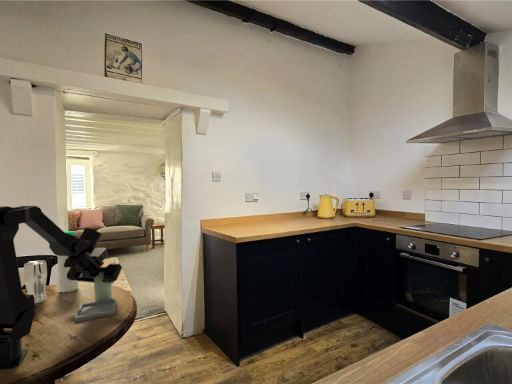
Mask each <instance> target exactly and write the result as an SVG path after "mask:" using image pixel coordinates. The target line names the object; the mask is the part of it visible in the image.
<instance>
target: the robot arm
mask: <svg viewBox="0 0 512 384" xmlns="http://www.w3.org/2000/svg"><path fill="white" fill-rule="evenodd" d="M20 224H25V225H26V226H27V227H28V228H30V229H32V231H33V232H35V233H36V234H37V235H38V236H40V237H41V238H42V239H44V240H45V241H46V242H47V243H48V245H49V246H48V247H49V249H50V251H51V252H52V253H53V254H54V255H55V256H57V257H58V256H68V257H67V259H66V260H65V263H64V267H71V268H70V269H69V271H68V273H67V278H68V279H69V280H77V281H78V282H85V283H93V284H94V278H96V276H99V274H103V281H102V282H107V283H111V284H114V283H115V282H116V281H117V279H119V276H120V273H121V271H122V269H123V267H122V265H121V264H120V263H113V262H111V263H109V264H108V265H107V266H104V264H105V262H104V260H105V259H106V258H107V257H108V256H109V253H108V250H107V248H106V247H97V245H98V243H99V241H100V240H101V239H102V238H101V237H102V236H103V235H102V234H101V232H99V231H97V230H95V229H92V228H91V227H85V228H84V229H83V230H82V233H81V235H80V236H79V237H77V236H75V234H74V235H70V234H67V233H65V231H64V230H62V229H61V228H60V227H59V226H58V225H57V224H56V223H55V222H54V221H53V220H51V219H50V218H49V217H48V216H47V215H46V214H45V212H43V211H42V209H41V208H40V207H39V206H37V205H21V206H15V207H11V206H8V205H7V206H5V205H4V206H3V205H1V206H0V370H1V369H5V368H10V367H14V366H18V365H20V364H21V362H22V360H24V358H25V356H26V354H27V353H28V349H27V348H26V349H23V339H22V338H24V337H25V336H28V335H29V334H30V333H31V329H32V326H33V322H34V319H35V317H36V310H38V309H37V308H38V307H37V305H36V304H35V298H34V295H27V294H25V293H24V291H23V287H22V281H21V276H20V271H19V265H18V264H19V263H18V257H17V254H16V253H17V252H16V247H15V241H14V240H15V238H16V235H17V233H18V232H19V228H20Z"/></svg>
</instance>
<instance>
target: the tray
mask: <svg viewBox="0 0 512 384" xmlns="http://www.w3.org/2000/svg"><path fill="white" fill-rule="evenodd" d="M116 306H117V298H116V297H115V298H112V299H108V300H102V301H96V302H95V301H90V302H84V303H81V304H80V305H79V308H78V309H77V312H76V314H75V316H74V323H78V322H84V321H90V320H94V319H100V318H105V317H111V316H115V312H116Z"/></svg>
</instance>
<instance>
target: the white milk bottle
mask: <svg viewBox="0 0 512 384" xmlns="http://www.w3.org/2000/svg"><path fill="white" fill-rule="evenodd" d="M64 232H65V233H67V234H70V235H74V236H75V233H74V231H72V230H69V231H64ZM67 257H68V256H57V272H58V277H57V278H58V279H57V280H58V292H59V293H61V292H62V293H61V294H63V293H65V292H67V293H71V291H72V292H75V291H77V290H78V289H79V281H77V280H69V279H68V278H67V273H68V271H69V269H70V268H71V267H64V263H65V260H66V259H67ZM74 290H75V291H74ZM65 294H66V293H65Z"/></svg>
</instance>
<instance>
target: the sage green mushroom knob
mask: <svg viewBox="0 0 512 384" xmlns="http://www.w3.org/2000/svg"><path fill="white" fill-rule="evenodd" d="M102 281H103V274H99V276H96V278H94V283H93V285H94V287H93V288H94V292H93V293H94V302H96V301H102V300H108V299H113V294H112V291H113V289H112V283H107V282H102Z"/></svg>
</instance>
